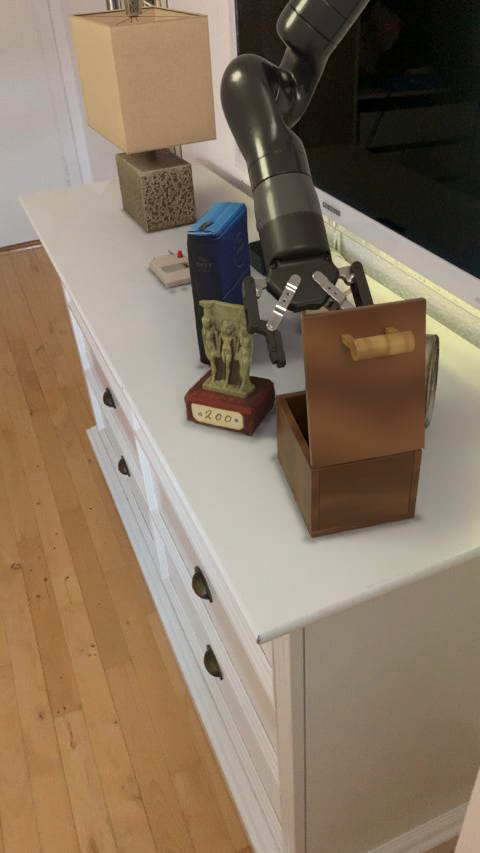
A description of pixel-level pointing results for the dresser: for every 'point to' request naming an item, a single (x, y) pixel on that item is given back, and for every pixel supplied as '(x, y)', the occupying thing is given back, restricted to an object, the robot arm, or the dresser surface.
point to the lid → (365, 381)
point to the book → (218, 259)
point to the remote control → (172, 269)
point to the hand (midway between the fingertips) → (319, 360)
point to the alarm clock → (431, 374)
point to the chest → (342, 478)
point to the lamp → (148, 101)
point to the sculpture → (228, 374)
